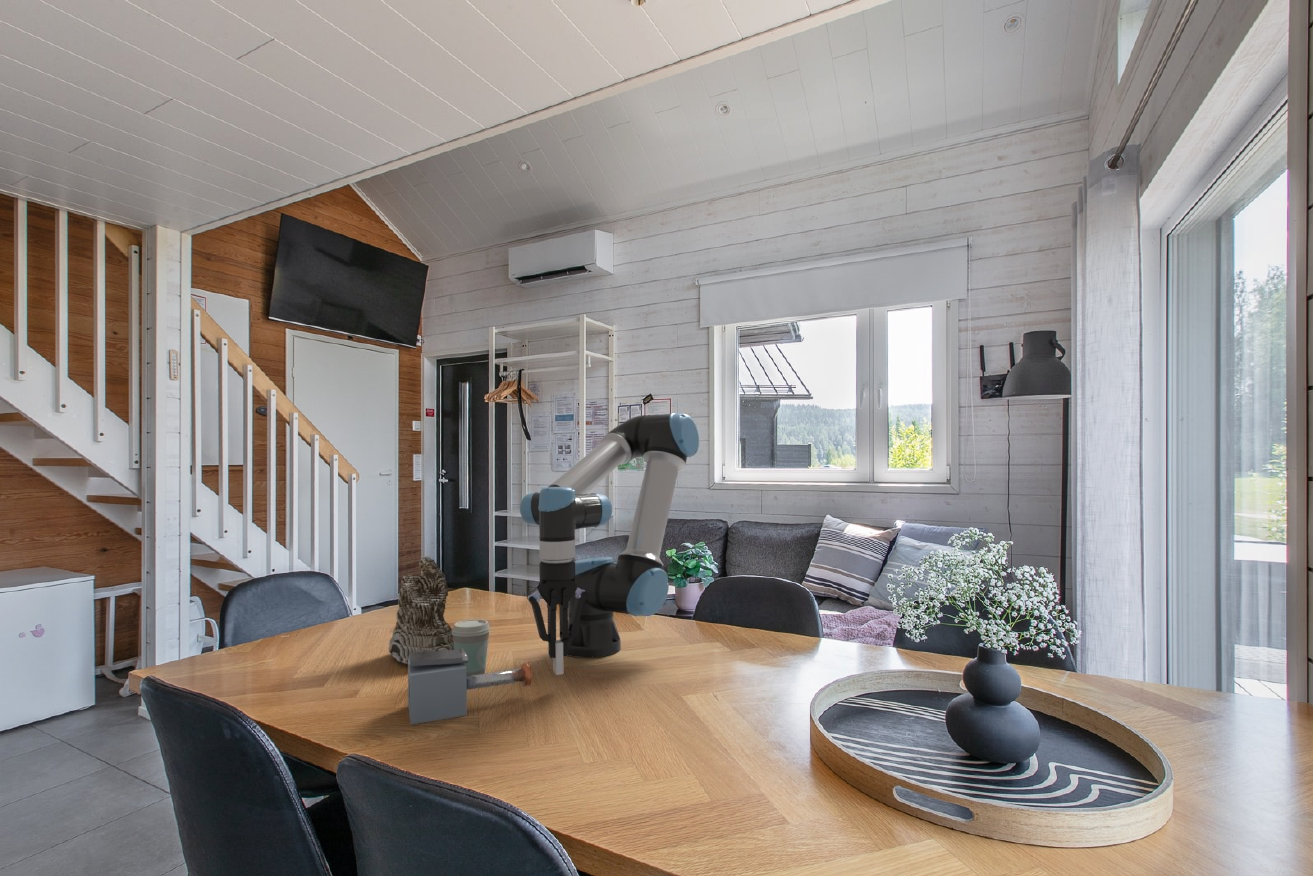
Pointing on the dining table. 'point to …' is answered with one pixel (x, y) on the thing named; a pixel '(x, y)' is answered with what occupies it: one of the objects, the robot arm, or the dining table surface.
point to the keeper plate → (438, 657)
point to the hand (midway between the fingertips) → (558, 672)
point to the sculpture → (421, 614)
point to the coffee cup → (472, 643)
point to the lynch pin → (501, 678)
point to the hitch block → (436, 692)
